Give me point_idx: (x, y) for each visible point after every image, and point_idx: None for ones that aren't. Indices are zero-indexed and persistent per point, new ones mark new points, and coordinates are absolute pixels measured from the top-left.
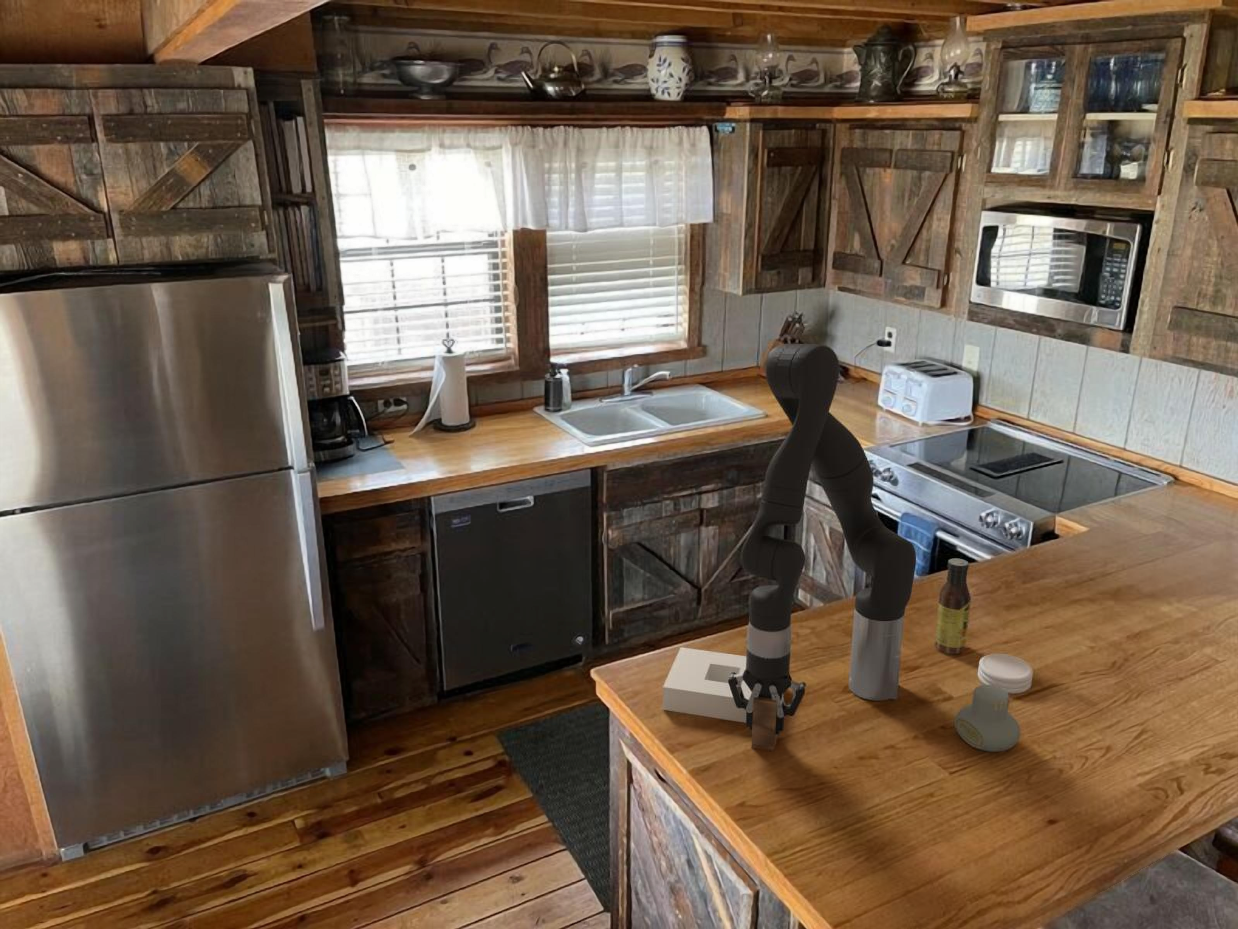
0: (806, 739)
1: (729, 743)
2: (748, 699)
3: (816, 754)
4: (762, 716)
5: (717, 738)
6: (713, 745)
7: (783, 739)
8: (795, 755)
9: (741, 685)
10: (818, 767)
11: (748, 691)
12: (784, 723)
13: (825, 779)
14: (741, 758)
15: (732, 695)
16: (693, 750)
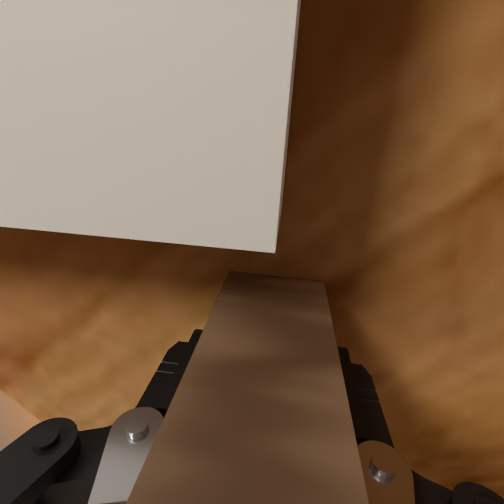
0: (461, 272)
1: (146, 334)
2: (121, 232)
3: (486, 359)
4: None
5: (98, 313)
6: (98, 350)
7: (352, 286)
8: (395, 371)
9: (7, 23)
10: (476, 421)
11: (91, 119)
12: (374, 387)
13: (487, 467)
14: None
15: (3, 201)
16: (49, 378)
